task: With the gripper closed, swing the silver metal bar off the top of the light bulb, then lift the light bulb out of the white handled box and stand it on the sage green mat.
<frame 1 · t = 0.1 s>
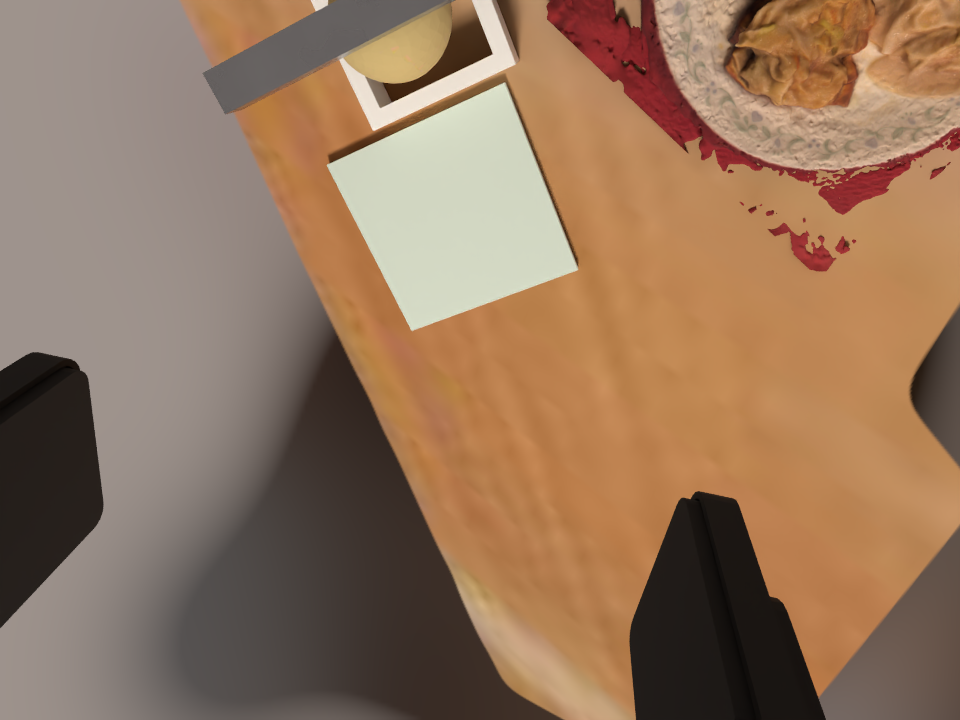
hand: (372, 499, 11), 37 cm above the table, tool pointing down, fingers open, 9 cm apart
white handled box: (417, 16, 41), on the table
silver metal bar: (363, 18, 31), point 12 cm above the table, hinge at 0.0°
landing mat: (455, 215, 46), on the table
light bulb: (418, 16, 41), resting in white handled box
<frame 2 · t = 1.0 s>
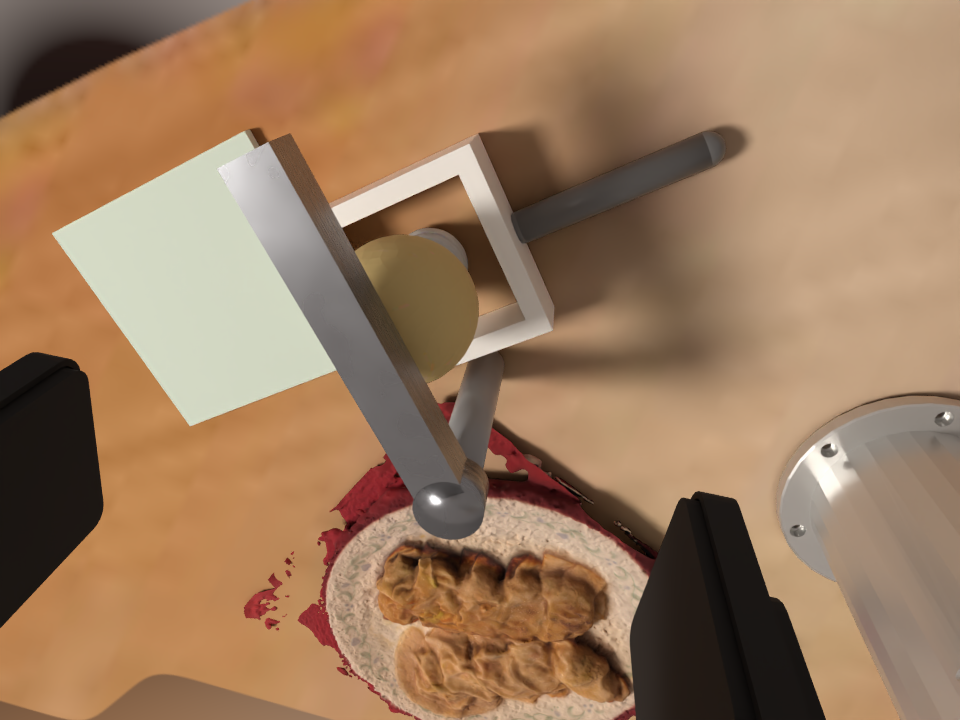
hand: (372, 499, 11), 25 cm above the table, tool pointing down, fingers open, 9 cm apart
white handled box: (434, 259, 35), on the table
silver metal bar: (372, 358, 25), point 12 cm above the table, hinge at 0.0°
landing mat: (219, 291, 37), on the table
light bulb: (435, 258, 35), resting in white handled box
plate with food: (492, 610, 47), on the table
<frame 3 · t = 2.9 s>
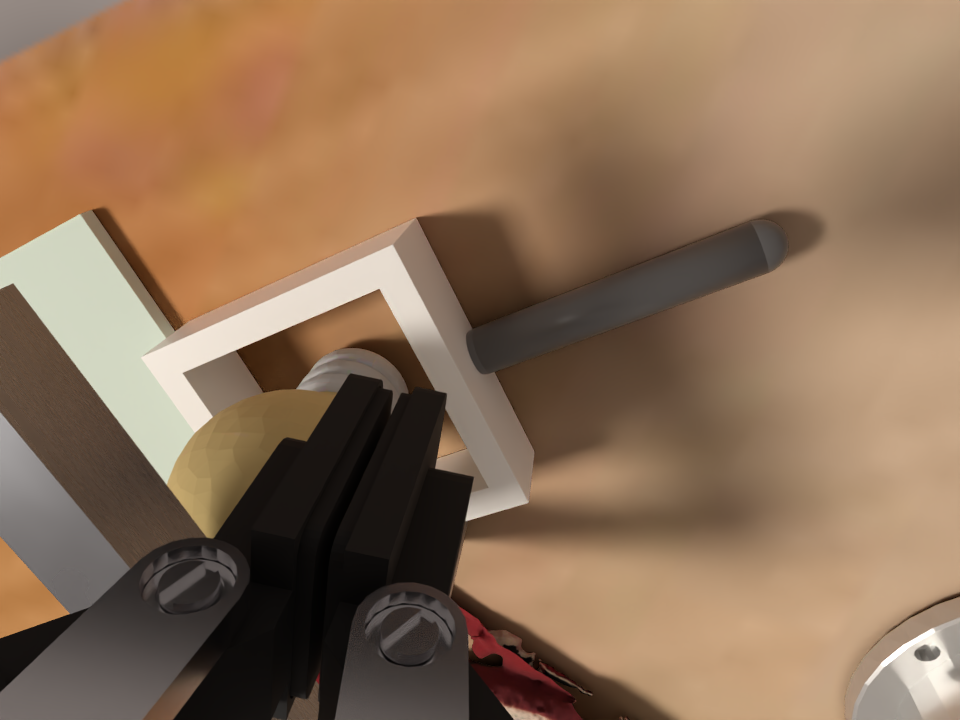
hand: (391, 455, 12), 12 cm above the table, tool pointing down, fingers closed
white handled box: (363, 387, 25), on the table
silver metal bar: (201, 646, 14), point 12 cm above the table, hinge at 0.0°
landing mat: (76, 421, 27), on the table
light bulb: (364, 384, 25), resting in white handled box
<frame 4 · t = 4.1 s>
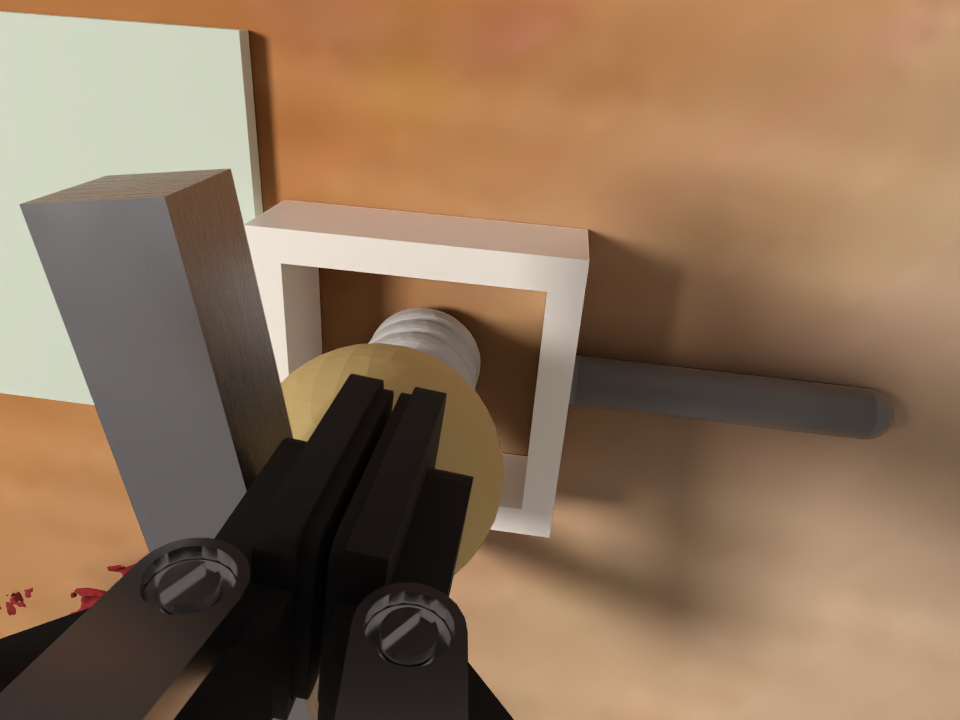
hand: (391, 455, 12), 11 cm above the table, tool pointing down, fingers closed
white handled box: (428, 351, 23), on the table
silver metal bar: (260, 613, 13), point 12 cm above the table, hinge at 8.2°, touching gripper
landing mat: (79, 230, 23), on the table
light bulb: (429, 348, 23), resting in white handled box
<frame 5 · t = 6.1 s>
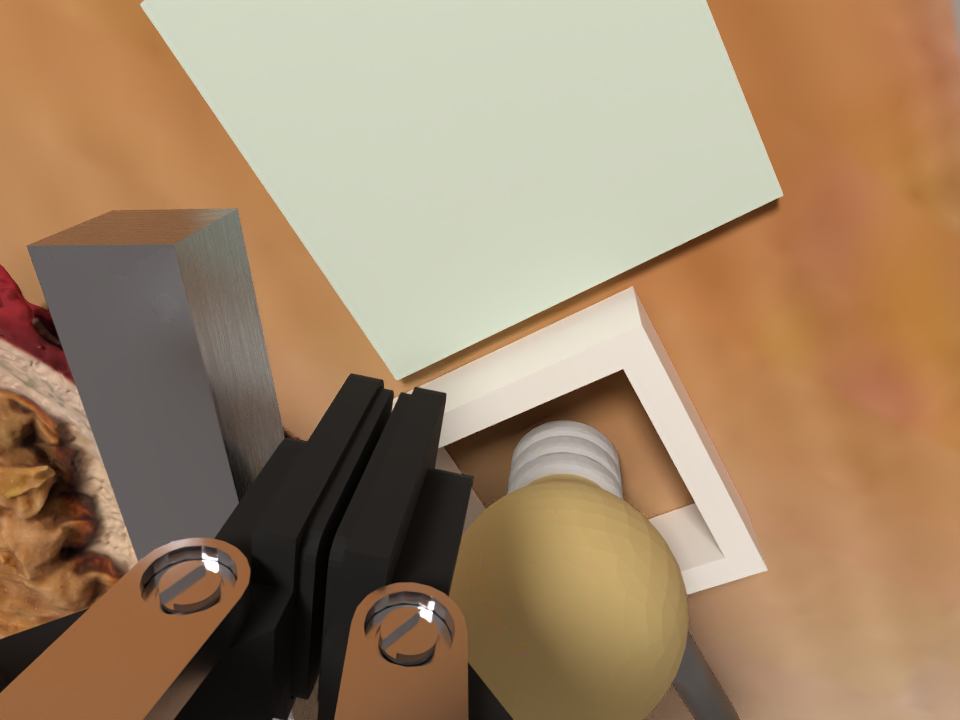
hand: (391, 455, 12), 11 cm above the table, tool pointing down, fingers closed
white handled box: (565, 456, 24), on the table
silver metal bar: (253, 641, 13), point 12 cm above the table, hinge at 62.6°, touching gripper
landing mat: (466, 98, 19), on the table
light bulb: (565, 453, 24), resting in white handled box
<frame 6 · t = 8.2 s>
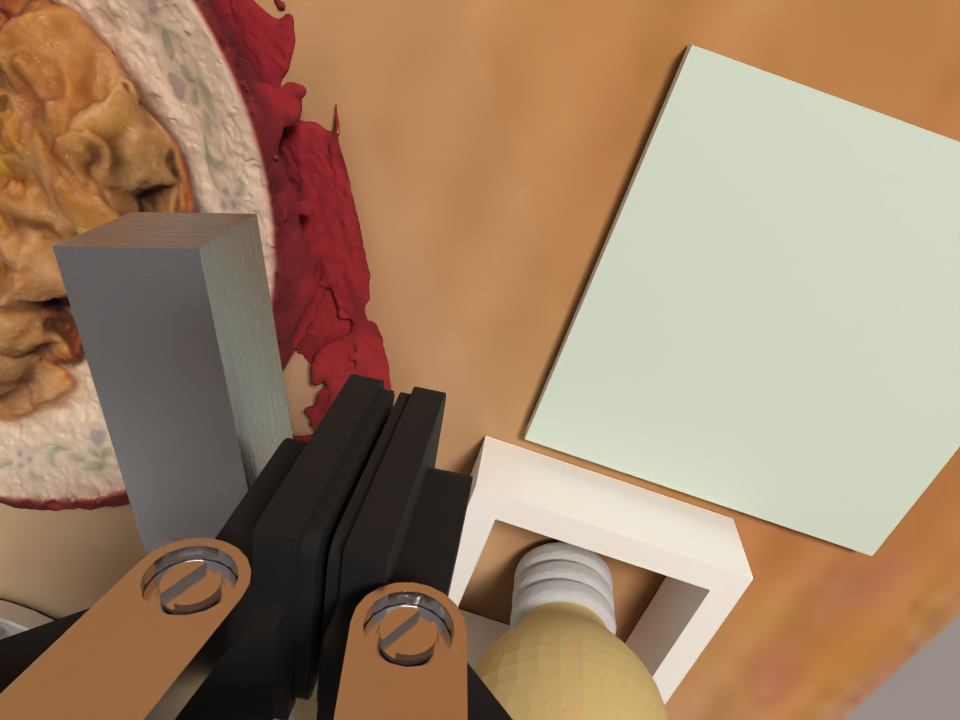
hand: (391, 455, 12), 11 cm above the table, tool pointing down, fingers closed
white handled box: (562, 569, 27), on the table
silver metal bar: (254, 638, 13), point 12 cm above the table, hinge at 108.7°, touching gripper
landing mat: (790, 331, 21), on the table
light bulb: (562, 565, 27), resting in white handled box
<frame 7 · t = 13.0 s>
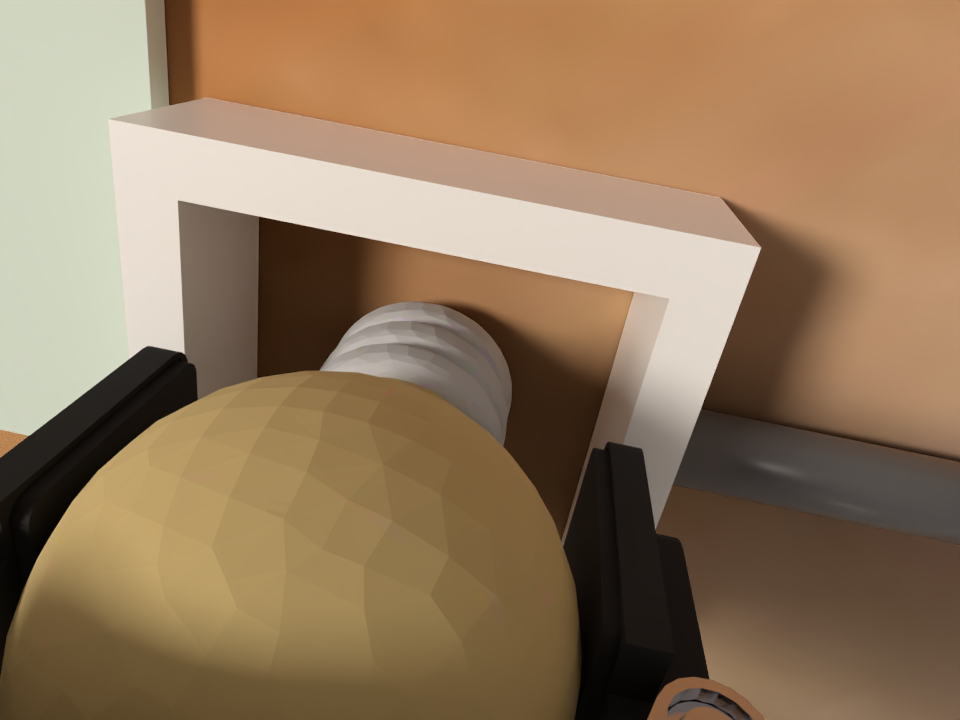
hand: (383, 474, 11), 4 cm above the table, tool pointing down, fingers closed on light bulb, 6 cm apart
white handled box: (427, 372, 14), on the table
light bulb: (429, 367, 15), resting in white handled box, touching gripper
when the fingers open (6 cm above the table, at t = 19.6 s): light bulb drops 1 cm, resting on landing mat.
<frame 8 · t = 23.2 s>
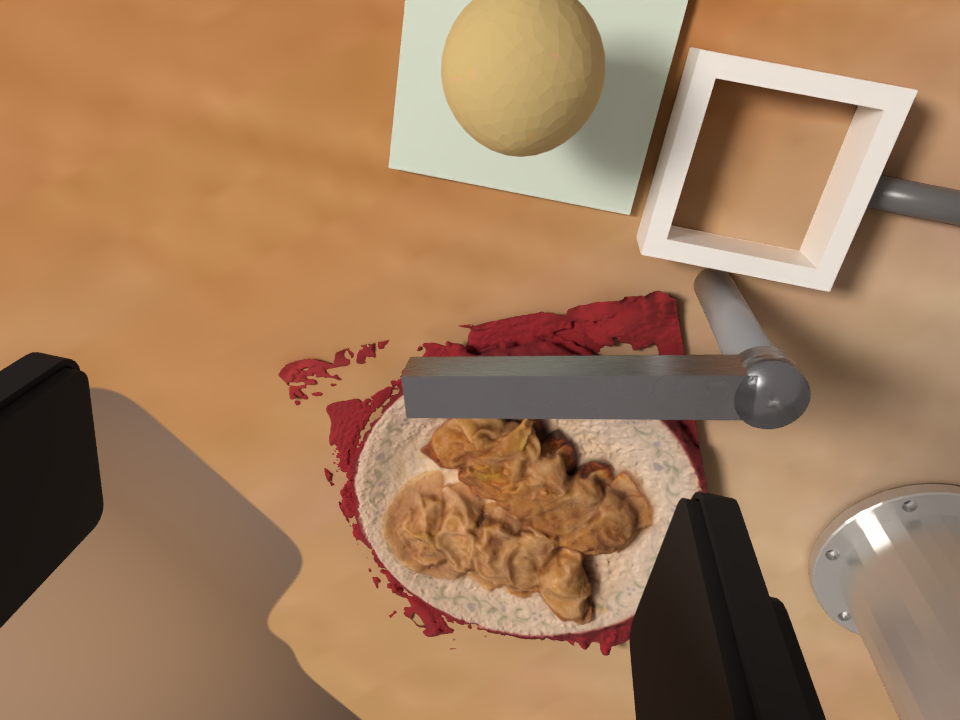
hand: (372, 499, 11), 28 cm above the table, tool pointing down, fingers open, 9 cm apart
white handled box: (754, 166, 34), on the table
silver metal bar: (597, 387, 28), point 12 cm above the table, hinge at 103.4°
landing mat: (533, 58, 33), on the table
light bulb: (533, 60, 33), resting on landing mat
plate with food: (515, 495, 47), on the table
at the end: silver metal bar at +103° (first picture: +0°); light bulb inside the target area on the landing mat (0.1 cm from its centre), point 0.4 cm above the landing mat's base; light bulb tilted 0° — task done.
